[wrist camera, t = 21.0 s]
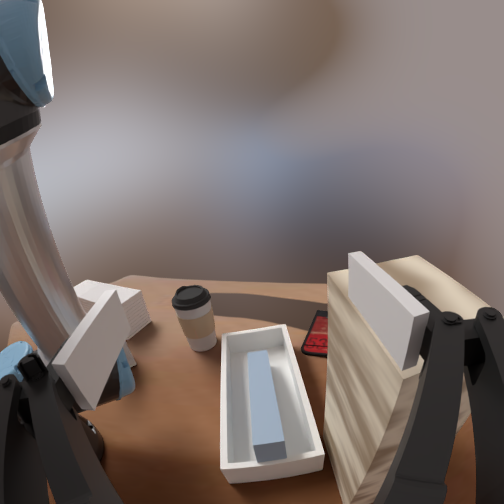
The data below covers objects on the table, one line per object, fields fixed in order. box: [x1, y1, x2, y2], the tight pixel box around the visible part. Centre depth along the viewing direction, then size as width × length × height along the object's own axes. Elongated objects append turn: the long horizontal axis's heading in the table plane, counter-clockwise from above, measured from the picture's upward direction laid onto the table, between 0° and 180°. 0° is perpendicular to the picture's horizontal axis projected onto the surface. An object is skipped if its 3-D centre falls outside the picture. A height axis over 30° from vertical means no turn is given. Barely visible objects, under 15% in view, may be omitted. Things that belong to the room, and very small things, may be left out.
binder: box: [301, 310, 328, 356], centre depth 60 cm, size 16×2×21 cm
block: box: [247, 350, 287, 463], centre depth 42 cm, size 4×26×4 cm, turn 4°
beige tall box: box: [323, 255, 504, 504], centre depth 25 cm, size 11×15×30 cm
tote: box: [220, 324, 325, 484], centre depth 45 cm, size 14×33×6 cm, turn 4°
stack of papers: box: [73, 280, 151, 340], centre depth 80 cm, size 32×11×11 cm, turn 65°
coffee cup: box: [172, 285, 217, 352], centre depth 64 cm, size 9×9×15 cm
